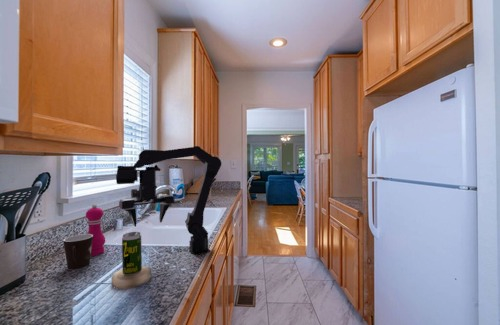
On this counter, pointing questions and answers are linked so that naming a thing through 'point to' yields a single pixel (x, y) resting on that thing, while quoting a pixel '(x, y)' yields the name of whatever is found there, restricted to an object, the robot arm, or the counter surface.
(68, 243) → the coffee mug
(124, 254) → the beer can
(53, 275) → the counter surface
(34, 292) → the counter surface
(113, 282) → the plate
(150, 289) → the counter surface
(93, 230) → the pepper mill
